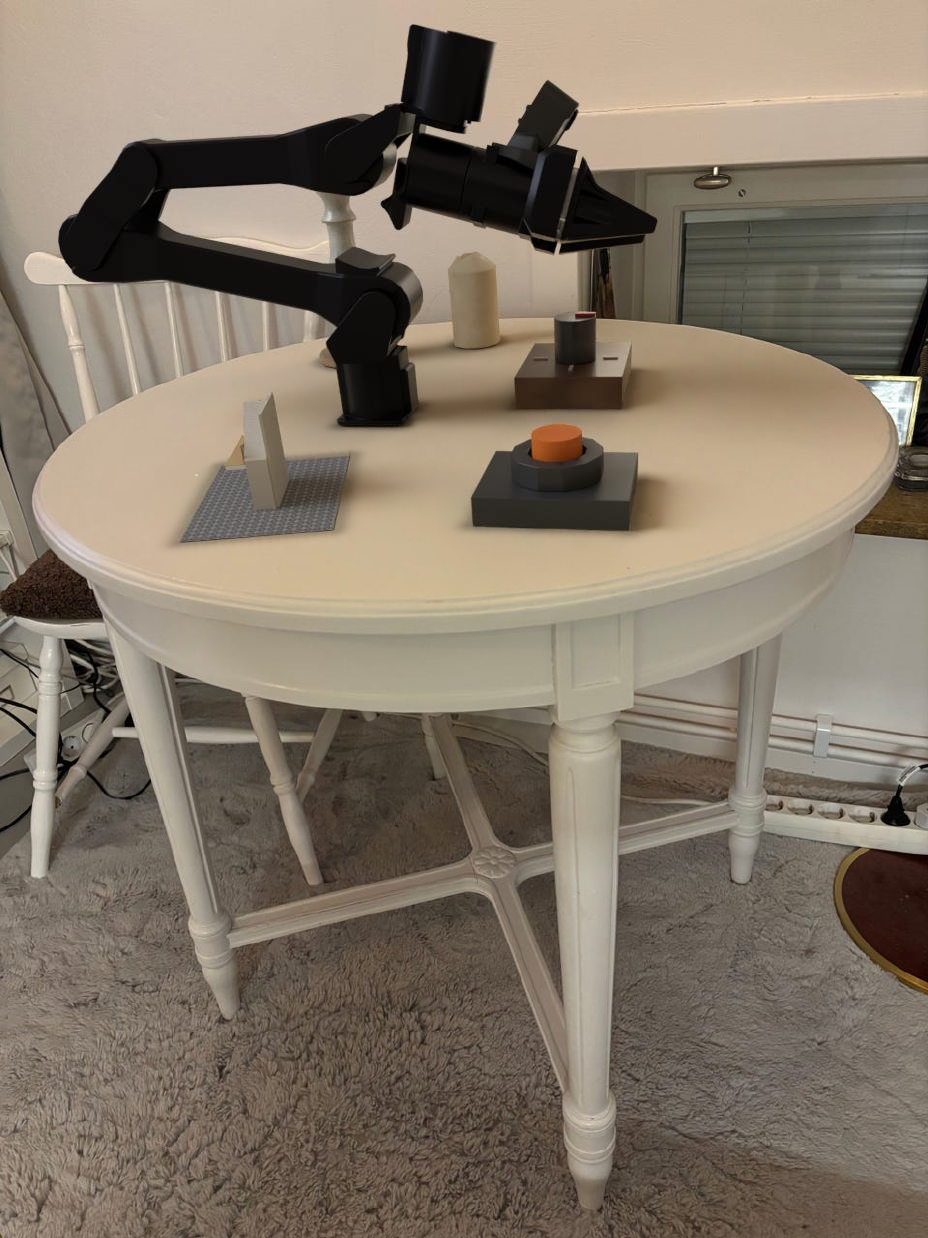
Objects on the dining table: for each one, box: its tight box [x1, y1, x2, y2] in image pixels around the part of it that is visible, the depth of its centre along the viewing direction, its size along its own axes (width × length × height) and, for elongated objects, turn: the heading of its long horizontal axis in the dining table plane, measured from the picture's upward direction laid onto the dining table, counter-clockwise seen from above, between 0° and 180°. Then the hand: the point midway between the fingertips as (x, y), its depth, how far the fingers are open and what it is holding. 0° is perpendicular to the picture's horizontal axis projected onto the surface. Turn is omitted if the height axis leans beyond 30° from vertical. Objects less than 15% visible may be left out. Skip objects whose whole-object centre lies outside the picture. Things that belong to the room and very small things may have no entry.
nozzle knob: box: [553, 310, 597, 364], centre depth 87 cm, size 4×4×4 cm
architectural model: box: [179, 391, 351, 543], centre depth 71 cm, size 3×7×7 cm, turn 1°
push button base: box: [470, 436, 639, 531], centre depth 66 cm, size 11×9×4 cm
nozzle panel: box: [513, 341, 633, 410], centre depth 89 cm, size 10×12×3 cm
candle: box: [447, 251, 501, 349], centre depth 105 cm, size 6×6×10 cm
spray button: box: [530, 423, 583, 462], centre depth 65 cm, size 4×4×2 cm
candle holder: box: [314, 191, 357, 369], centre depth 100 cm, size 9×9×20 cm
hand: (649, 231), depth 75 cm, fingers open, 9 cm apart
